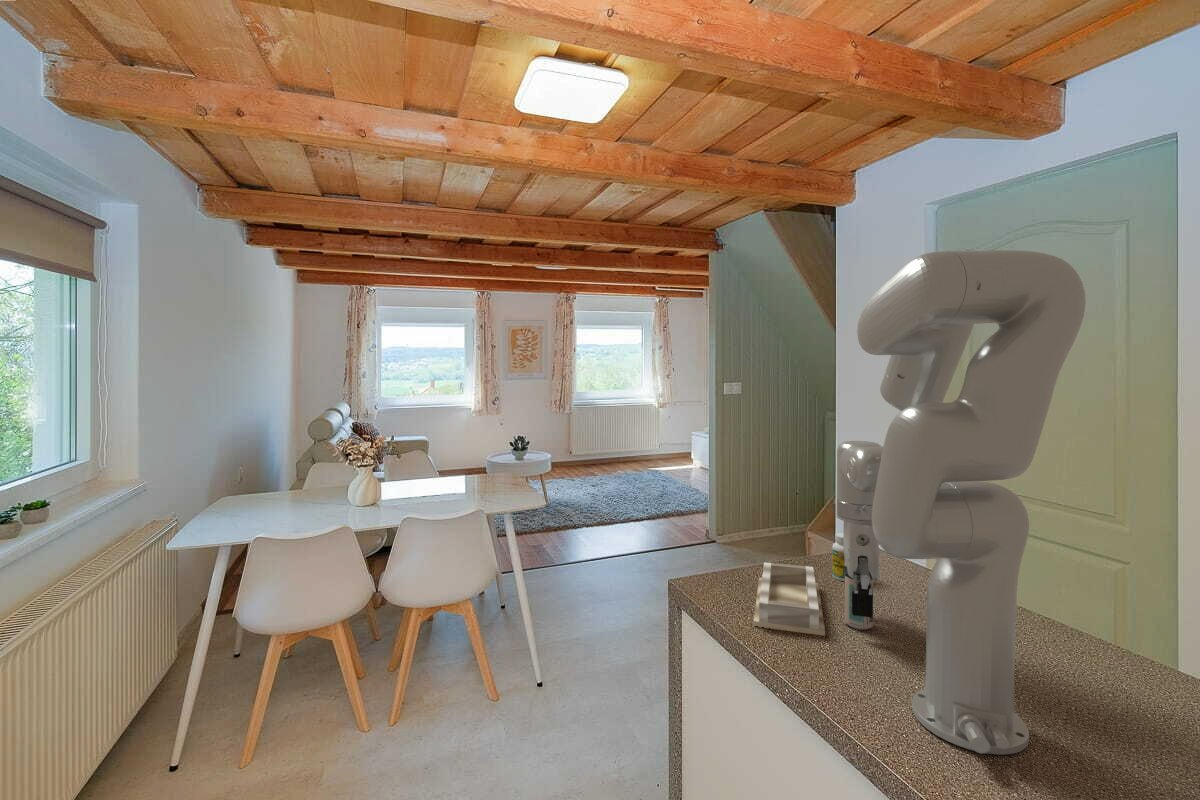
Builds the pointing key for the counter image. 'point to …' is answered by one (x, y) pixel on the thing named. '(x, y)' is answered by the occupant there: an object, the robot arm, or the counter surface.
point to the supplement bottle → (838, 558)
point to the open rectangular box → (789, 600)
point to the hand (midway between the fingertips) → (858, 604)
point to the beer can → (851, 619)
